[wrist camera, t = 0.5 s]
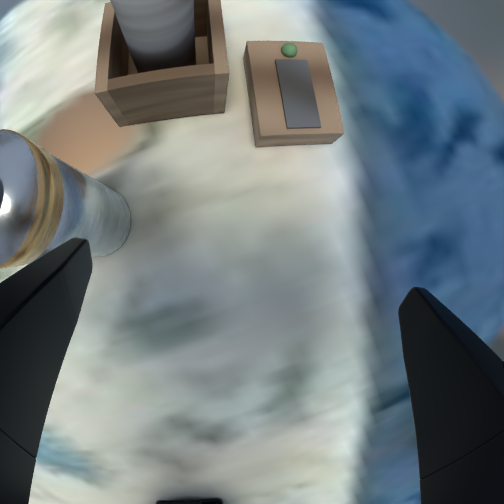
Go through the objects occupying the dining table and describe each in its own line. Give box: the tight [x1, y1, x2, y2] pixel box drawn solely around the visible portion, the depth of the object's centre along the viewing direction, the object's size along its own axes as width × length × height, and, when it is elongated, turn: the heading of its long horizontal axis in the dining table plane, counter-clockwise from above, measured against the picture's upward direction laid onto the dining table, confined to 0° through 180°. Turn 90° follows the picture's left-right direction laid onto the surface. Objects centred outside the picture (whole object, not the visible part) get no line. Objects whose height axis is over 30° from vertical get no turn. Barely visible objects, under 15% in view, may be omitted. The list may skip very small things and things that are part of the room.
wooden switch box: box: [243, 41, 344, 147], centre depth 21 cm, size 8×6×3 cm
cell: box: [0, 129, 131, 268], centre depth 14 cm, size 5×5×14 cm
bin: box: [95, 0, 229, 127], centre depth 15 cm, size 8×8×13 cm
